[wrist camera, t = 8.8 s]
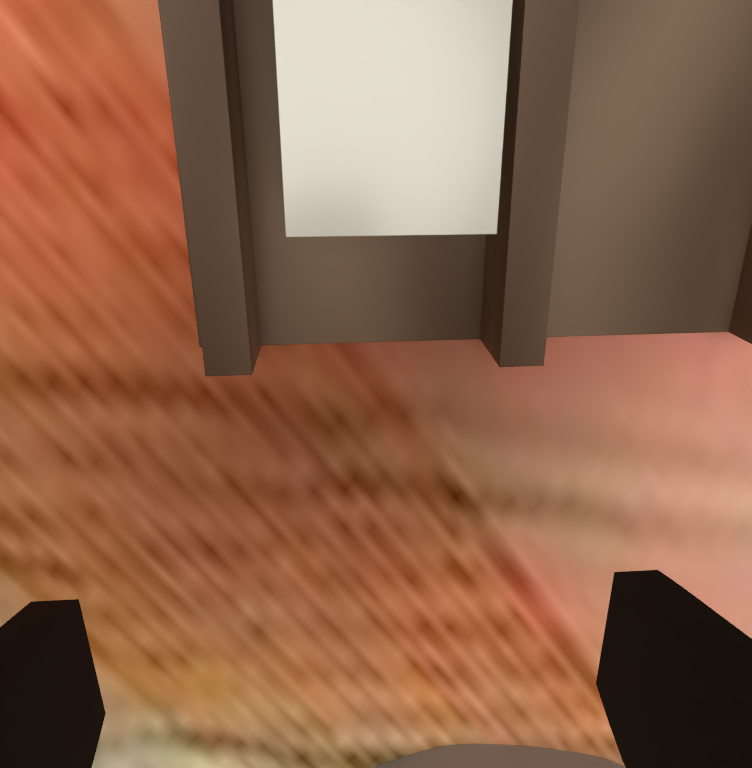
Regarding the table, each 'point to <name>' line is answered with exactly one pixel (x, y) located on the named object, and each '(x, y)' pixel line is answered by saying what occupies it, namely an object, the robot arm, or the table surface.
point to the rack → (516, 198)
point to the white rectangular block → (391, 115)
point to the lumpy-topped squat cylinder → (498, 758)
